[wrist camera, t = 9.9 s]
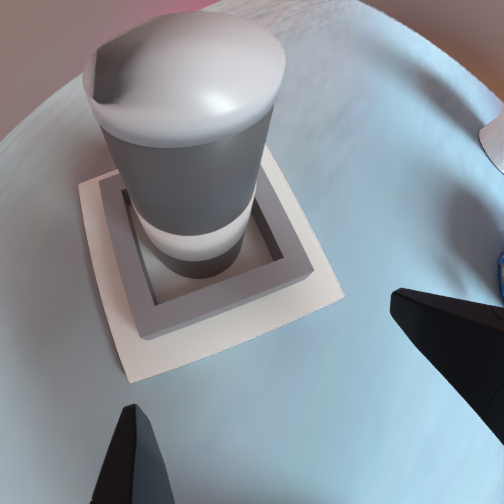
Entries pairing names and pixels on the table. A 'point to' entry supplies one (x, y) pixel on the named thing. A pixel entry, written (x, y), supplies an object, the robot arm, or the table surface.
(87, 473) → the table surface
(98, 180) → the square framed plate
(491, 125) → the cup
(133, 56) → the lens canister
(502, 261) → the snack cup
